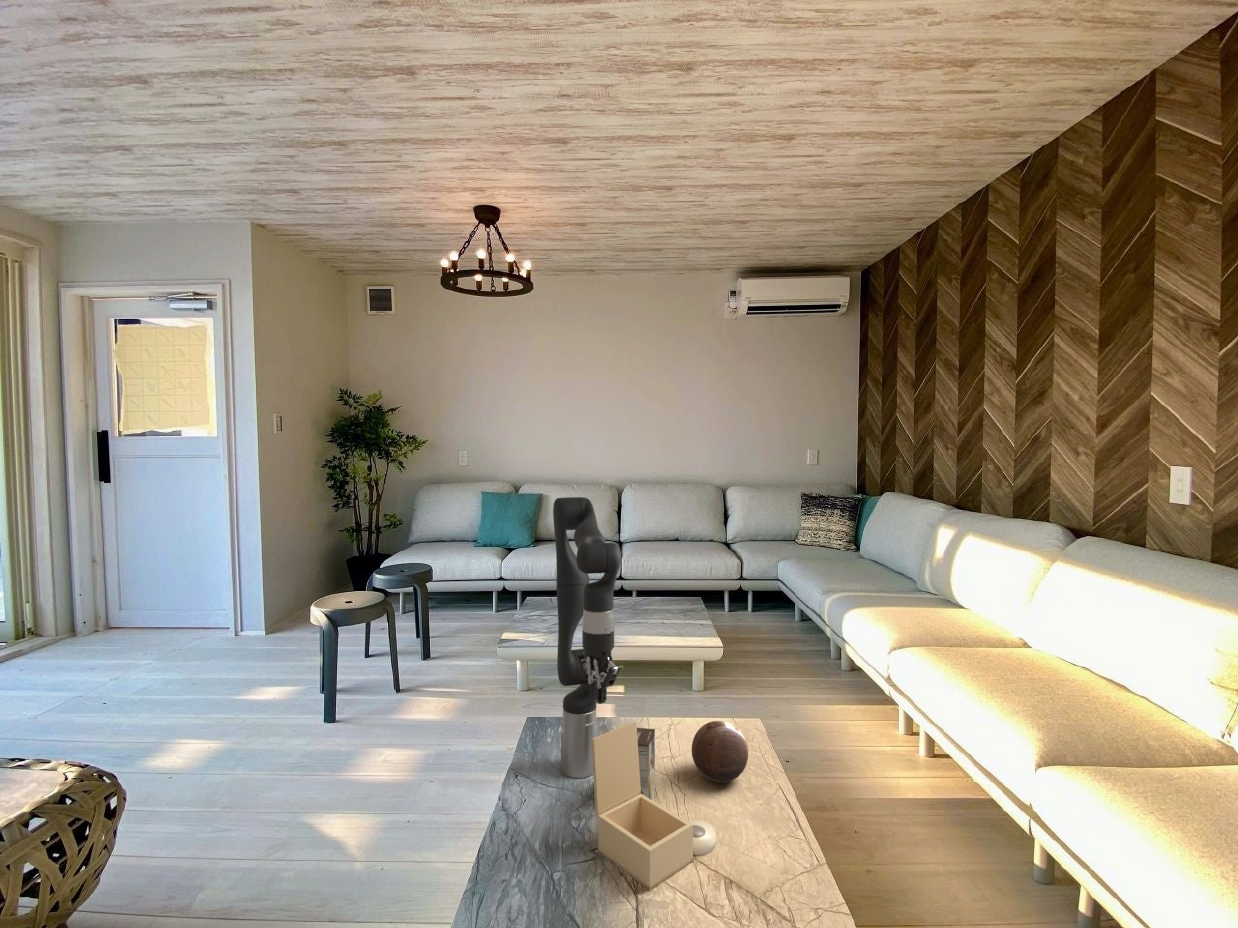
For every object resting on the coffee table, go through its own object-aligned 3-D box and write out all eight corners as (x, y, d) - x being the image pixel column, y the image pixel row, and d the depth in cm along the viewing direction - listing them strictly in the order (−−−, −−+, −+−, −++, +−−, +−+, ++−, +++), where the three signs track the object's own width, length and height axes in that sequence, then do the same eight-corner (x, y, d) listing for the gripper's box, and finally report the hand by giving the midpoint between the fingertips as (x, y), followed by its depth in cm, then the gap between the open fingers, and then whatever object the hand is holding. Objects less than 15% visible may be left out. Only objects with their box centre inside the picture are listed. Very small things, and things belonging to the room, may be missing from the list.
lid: (598, 814, 133) (595, 812, 134) (640, 792, 142) (638, 791, 142) (593, 739, 134) (591, 738, 135) (636, 722, 143) (633, 721, 144)
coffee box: (630, 786, 159) (631, 725, 159) (655, 789, 158) (655, 728, 158) (624, 806, 150) (624, 741, 150) (649, 809, 149) (650, 744, 149)
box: (598, 851, 133) (598, 815, 133) (640, 827, 142) (640, 793, 142) (649, 890, 121) (650, 850, 121) (692, 861, 130) (693, 824, 130)
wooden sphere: (758, 788, 159) (759, 731, 159) (707, 798, 154) (707, 739, 154) (730, 760, 173) (730, 708, 173) (682, 769, 168) (682, 715, 168)
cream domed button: (667, 840, 137) (667, 829, 137) (693, 824, 143) (693, 814, 143) (697, 860, 130) (697, 849, 130) (723, 842, 136) (724, 831, 136)
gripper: (567, 624, 146) (567, 696, 146) (605, 637, 135) (605, 714, 136) (591, 619, 151) (591, 688, 151) (630, 631, 140) (629, 705, 141)
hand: (598, 700), depth 143 cm, fingers closed
